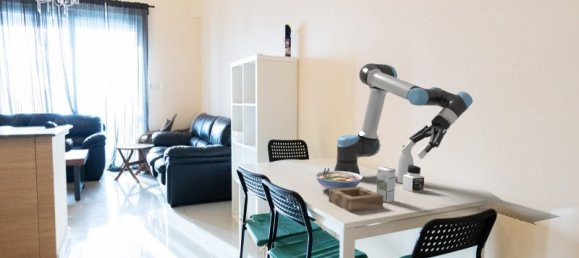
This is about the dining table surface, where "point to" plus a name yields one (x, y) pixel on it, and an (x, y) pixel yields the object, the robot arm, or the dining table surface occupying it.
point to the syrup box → (386, 183)
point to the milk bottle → (404, 164)
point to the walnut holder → (355, 199)
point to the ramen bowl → (338, 179)
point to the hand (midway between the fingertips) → (410, 154)
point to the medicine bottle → (413, 179)
